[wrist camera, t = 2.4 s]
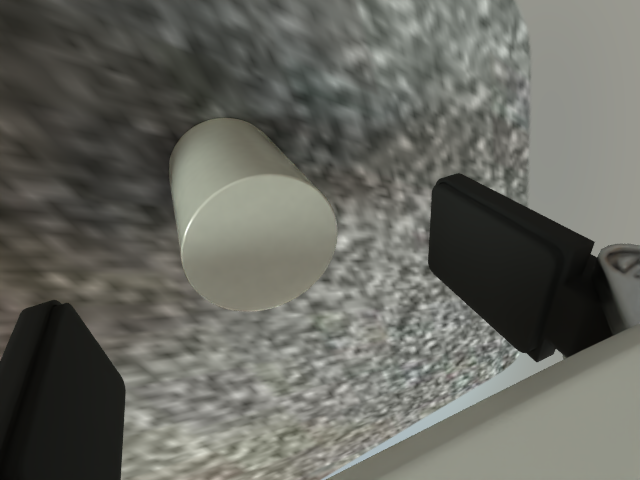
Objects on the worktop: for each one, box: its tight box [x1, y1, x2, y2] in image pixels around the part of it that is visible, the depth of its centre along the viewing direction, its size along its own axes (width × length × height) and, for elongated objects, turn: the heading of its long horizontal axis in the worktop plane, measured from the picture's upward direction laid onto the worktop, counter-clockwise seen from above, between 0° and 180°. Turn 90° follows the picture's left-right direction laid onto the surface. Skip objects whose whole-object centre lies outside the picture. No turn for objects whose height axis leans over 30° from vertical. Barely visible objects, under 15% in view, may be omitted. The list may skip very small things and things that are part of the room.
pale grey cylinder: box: [169, 118, 338, 312], centre depth 12 cm, size 4×4×6 cm
